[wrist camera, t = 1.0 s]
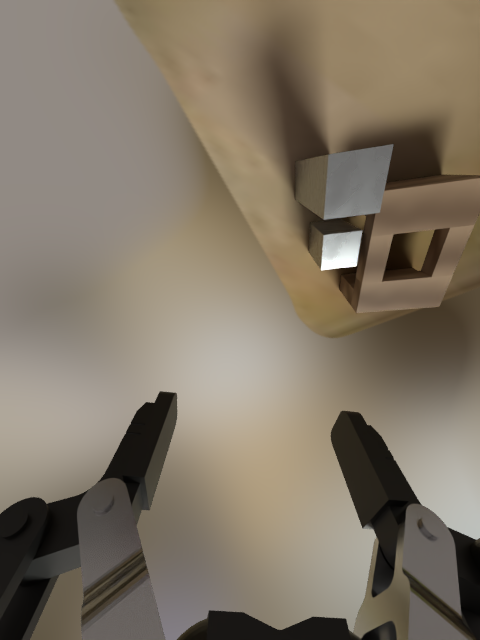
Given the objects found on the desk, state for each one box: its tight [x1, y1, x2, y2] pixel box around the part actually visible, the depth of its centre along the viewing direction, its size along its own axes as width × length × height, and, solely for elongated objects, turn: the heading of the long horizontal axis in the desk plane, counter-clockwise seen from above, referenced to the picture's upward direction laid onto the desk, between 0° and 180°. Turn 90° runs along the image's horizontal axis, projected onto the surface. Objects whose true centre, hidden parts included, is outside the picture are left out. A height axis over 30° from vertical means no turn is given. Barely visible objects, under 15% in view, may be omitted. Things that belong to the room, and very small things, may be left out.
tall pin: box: [295, 144, 394, 220], centre depth 21 cm, size 4×4×14 cm
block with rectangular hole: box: [339, 175, 480, 313], centre depth 28 cm, size 14×10×7 cm
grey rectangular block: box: [309, 219, 362, 270], centre depth 28 cm, size 4×4×7 cm
